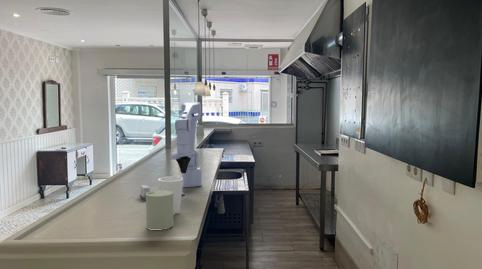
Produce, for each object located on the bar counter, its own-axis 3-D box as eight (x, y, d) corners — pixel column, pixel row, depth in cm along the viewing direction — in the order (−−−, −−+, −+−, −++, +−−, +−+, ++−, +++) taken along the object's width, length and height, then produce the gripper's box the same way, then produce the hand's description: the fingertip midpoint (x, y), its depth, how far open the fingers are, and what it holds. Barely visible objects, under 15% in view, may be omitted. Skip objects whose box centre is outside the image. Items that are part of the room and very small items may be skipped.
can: (148, 222, 125) (148, 188, 124) (175, 221, 126) (174, 188, 125) (143, 231, 116) (143, 195, 115) (172, 230, 117) (171, 194, 116)
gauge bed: (178, 191, 171) (177, 180, 171) (184, 195, 162) (184, 184, 162) (140, 195, 163) (139, 184, 162) (144, 200, 154) (144, 189, 154)
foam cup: (162, 208, 142) (161, 176, 141) (185, 208, 142) (185, 176, 141) (155, 215, 132) (155, 181, 131) (180, 216, 132) (180, 181, 131)
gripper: (186, 142, 175) (187, 169, 176) (165, 145, 162) (166, 174, 163) (198, 143, 171) (198, 171, 172) (177, 146, 159) (178, 176, 160)
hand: (183, 173), depth 167 cm, fingers closed
